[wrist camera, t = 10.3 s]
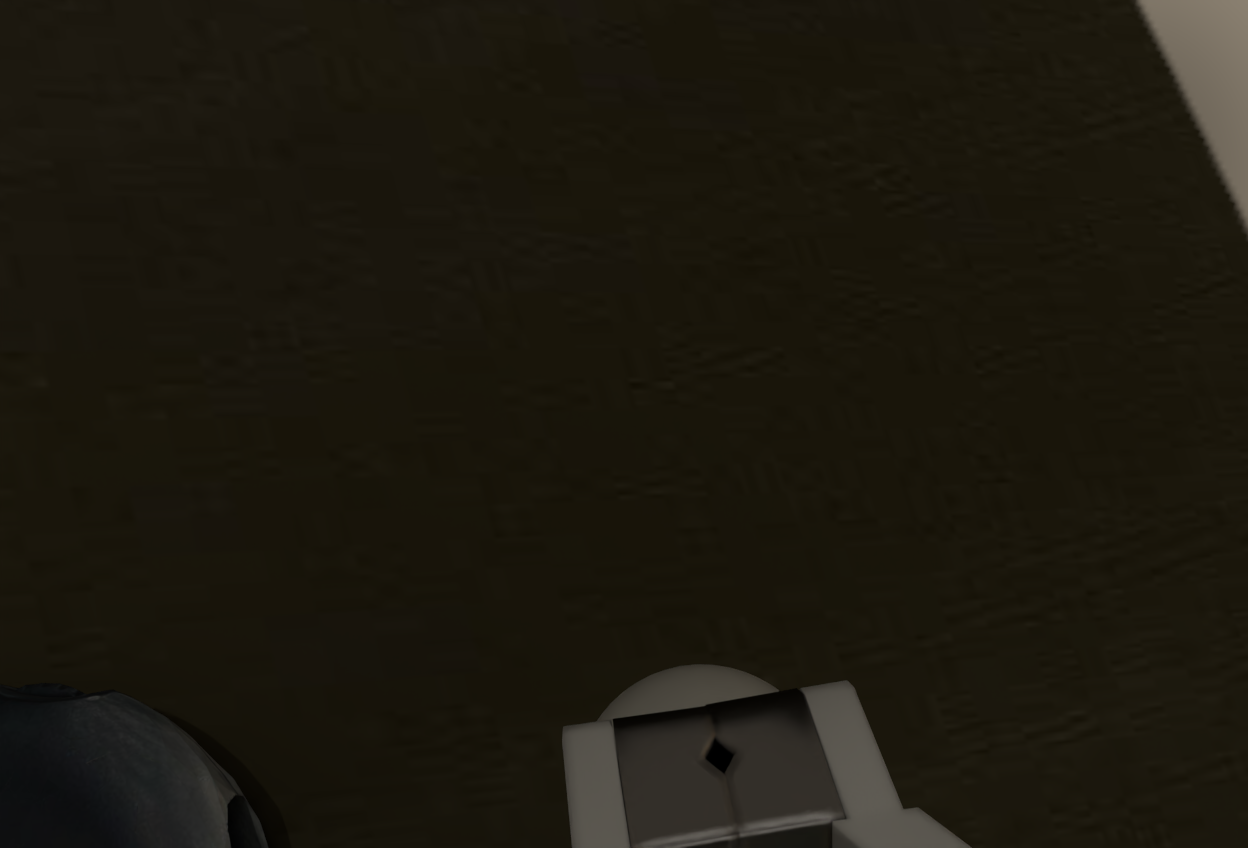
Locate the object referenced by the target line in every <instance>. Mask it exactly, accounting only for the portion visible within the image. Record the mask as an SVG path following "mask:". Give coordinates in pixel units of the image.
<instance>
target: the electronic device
mask: <svg viewBox="0 0 1248 848" xmlns="http://www.w3.org/2000/svg"><path fill="white" fill-rule="evenodd" d="M0 848H268V845H267V842H266V838H265V835H264V832H263V829H262V826H261V823H260V821H259V819H258V817H257V816H256V814H255V812H254V811H253V809H252V808H251V806H250V804H249V803H248V801H247V800H246V798H245V796H244V795H243V793H242V792H241V790H240V788H239V787H238V785H237V784H236V782H235V780H234V779H233V777H231V776H230V775H229V774H228V773H227V772H226V771H225V770H224V769H223V768H222V767H221V766H220V765H219V764H218V763H217V762H216V761H215V760H214V759H213V758H212V757H211V756H210V755H209V754H208V753H207V752H206V751H205V750H204V749H203V748H202V747H201V746H200V745H199V744H198V743H197V742H196V741H195V740H194V739H193V738H192V737H191V736H190V735H189V734H188V733H186V732H185V731H184V730H182V729H181V728H180V727H178V726H177V725H176V724H174V723H173V722H172V721H171V720H169V719H168V718H167V717H165V716H163V715H162V714H160V713H158V712H157V711H155V710H153V709H152V708H150V707H148V706H147V705H145V704H143V703H142V702H140V701H138V700H136V699H134V698H132V697H130V696H128V695H125V694H122V693H120V692H117V691H115V690H107V691H101V692H97V693H92V694H87V695H86V694H84V693H82V692H80V691H78V690H76V689H74V688H72V687H69V686H65V685H62V684H50V683H40V684H35V685H25V686H23V687H21V688H19V689H18V688H13V687H9V686H5V685H0Z"/></svg>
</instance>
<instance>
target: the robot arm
mask: <svg viewBox="0 0 1248 848" xmlns="http://www.w3.org/2000/svg"><path fill="white" fill-rule="evenodd" d="M613 727H614V732H613ZM613 727H612V721H611V720H605V721H598V722H591V723H584V724H577V725H570V726H563V736H562V744H563V755H564V766H565V776H566V787H567V798H568V809H569V820H570V830H571V841H572V848H972V847H970V846H969V845H968V844H966V843H965V842H964V841H962V840H961V839H960V838H958V837H957V836H955V835H954V834H953V833H951V832H950V831H949V830H947V829H946V828H945V827H943V826H942V825H941V824H939V823H938V822H937V821H935V820H934V819H933V818H931V817H930V816H929V815H927V814H926V813H925V812H923V811H922V810H921V809H919V808H918V807H917V808H910V809H903V807H902V805H901V802H900V800H899V797H898V795H897V792H896V790H895V787H894V785H893V783H892V780H891V778H890V775H889V773H888V770H887V768H886V765H885V763H884V760H883V758H882V755H881V753H880V750H879V748H878V745H877V743H876V741H875V738H874V736H873V733H872V731H871V728H870V726H869V723H868V721H867V718H866V716H865V713H864V711H863V708H862V706H861V703H860V701H859V699H858V696H857V694H856V691H855V689H854V687H853V686H852V685H851V684H850V683H849V682H848V681H847V680H846V681H840V682H834V683H829V684H823V685H817V686H811V687H805V688H800V690H798V689H797V688H795V689H790V690H784V691H778V692H773V693H767V694H762V695H756V696H750V697H745V698H739V699H733V700H728V701H722V702H716V703H711V704H705V706H701V707H694V708H687V709H679V710H672V711H665V712H658V713H651V714H643V715H636V716H629V717H622V718H615V719H613ZM614 735H615V738H614ZM615 742H616V744H615ZM616 749H617V750H616Z"/></svg>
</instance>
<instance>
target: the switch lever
mask: <svg viewBox="0 0 1248 848" xmlns="http://www.w3.org/2000/svg"><path fill="white" fill-rule="evenodd" d="M778 691H779V690H778V689H776V688H775V687H773V686H772V685H770V684H768V683H767V682H765V681H763V680H762V679H760V678H758V677H755V676H753V675H751V674H748V673H746V672H743V671H740V670H736V669H733V668H729V667H723V666H717V665H700V664H696V665H686V666H679V667H675V668H670V669H666V670H663V671H660V672H658V673H655V674H652V675H650V676H648V677H646V678H644V679H642V680H640V681H638V682H637V683H635V684H634V685H632V686H631V687H629V688H628V689H627V690H625V691H624V692H623V693H621V694H620V695H619V696H618V697H617V698H616V699H615V700H614V701H613V702H612V703H611V704H610V705H609V706H608V707H607V709H606V710H605V711H604V712H603V713H602V714H601V716H600V717H599V719H598V720H597V722H598V721H605V720H611V721H612V727H613V719H615V718H622V717H629V716H636V715H643V714H651V713H658V712H665V711H672V710H679V709H687V708H694V707H701V706H705V704H711V703H716V702H722V701H728V700H733V699H739V698H745V697H750V696H756V695H762V694H767V693H773V692H778ZM613 732H614V727H613ZM614 738H615V735H614ZM615 744H616V742H615ZM616 750H617V749H616Z"/></svg>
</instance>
